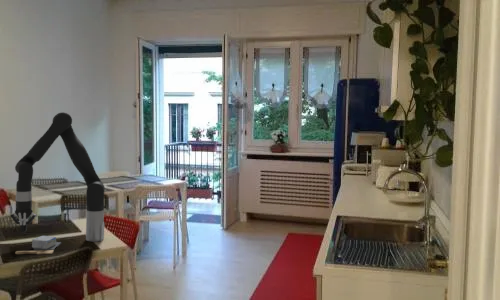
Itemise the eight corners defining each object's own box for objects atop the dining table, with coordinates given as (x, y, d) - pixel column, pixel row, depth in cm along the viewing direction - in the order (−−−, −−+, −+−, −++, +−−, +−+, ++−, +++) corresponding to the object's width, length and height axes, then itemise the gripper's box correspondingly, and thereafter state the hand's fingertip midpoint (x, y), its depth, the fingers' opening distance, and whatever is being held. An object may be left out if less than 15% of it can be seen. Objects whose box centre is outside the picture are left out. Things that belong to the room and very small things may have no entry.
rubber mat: (61, 243, 232) (61, 242, 232) (53, 250, 220) (53, 249, 220) (42, 242, 231) (42, 241, 231) (33, 249, 219) (33, 248, 219)
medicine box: (31, 247, 220) (46, 249, 218) (31, 239, 220) (46, 241, 218) (42, 243, 228) (56, 245, 226) (42, 235, 228) (56, 237, 226)
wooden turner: (53, 251, 218) (53, 249, 218) (52, 253, 214) (52, 251, 214) (17, 252, 214) (17, 250, 213) (14, 255, 209) (14, 253, 209)
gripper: (39, 198, 226) (39, 230, 228) (13, 197, 225) (13, 229, 226) (34, 201, 219) (34, 234, 220) (7, 200, 217) (7, 233, 219)
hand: (23, 231), depth 223 cm, fingers closed
